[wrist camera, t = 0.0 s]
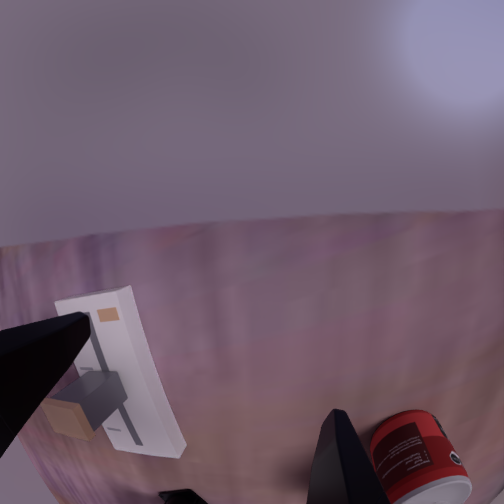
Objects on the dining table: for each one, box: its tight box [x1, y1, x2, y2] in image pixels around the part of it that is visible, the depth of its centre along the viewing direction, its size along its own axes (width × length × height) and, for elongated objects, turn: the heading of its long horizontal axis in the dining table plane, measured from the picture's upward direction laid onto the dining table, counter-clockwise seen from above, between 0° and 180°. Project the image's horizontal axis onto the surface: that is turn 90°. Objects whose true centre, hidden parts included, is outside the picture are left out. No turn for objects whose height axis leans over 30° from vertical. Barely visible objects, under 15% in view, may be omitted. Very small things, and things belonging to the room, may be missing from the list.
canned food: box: [370, 410, 472, 504], centre depth 18 cm, size 8×8×11 cm
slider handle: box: [40, 371, 128, 442], centre depth 21 cm, size 3×5×8 cm
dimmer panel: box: [55, 285, 187, 458], centre depth 26 cm, size 19×9×3 cm, turn 13°
